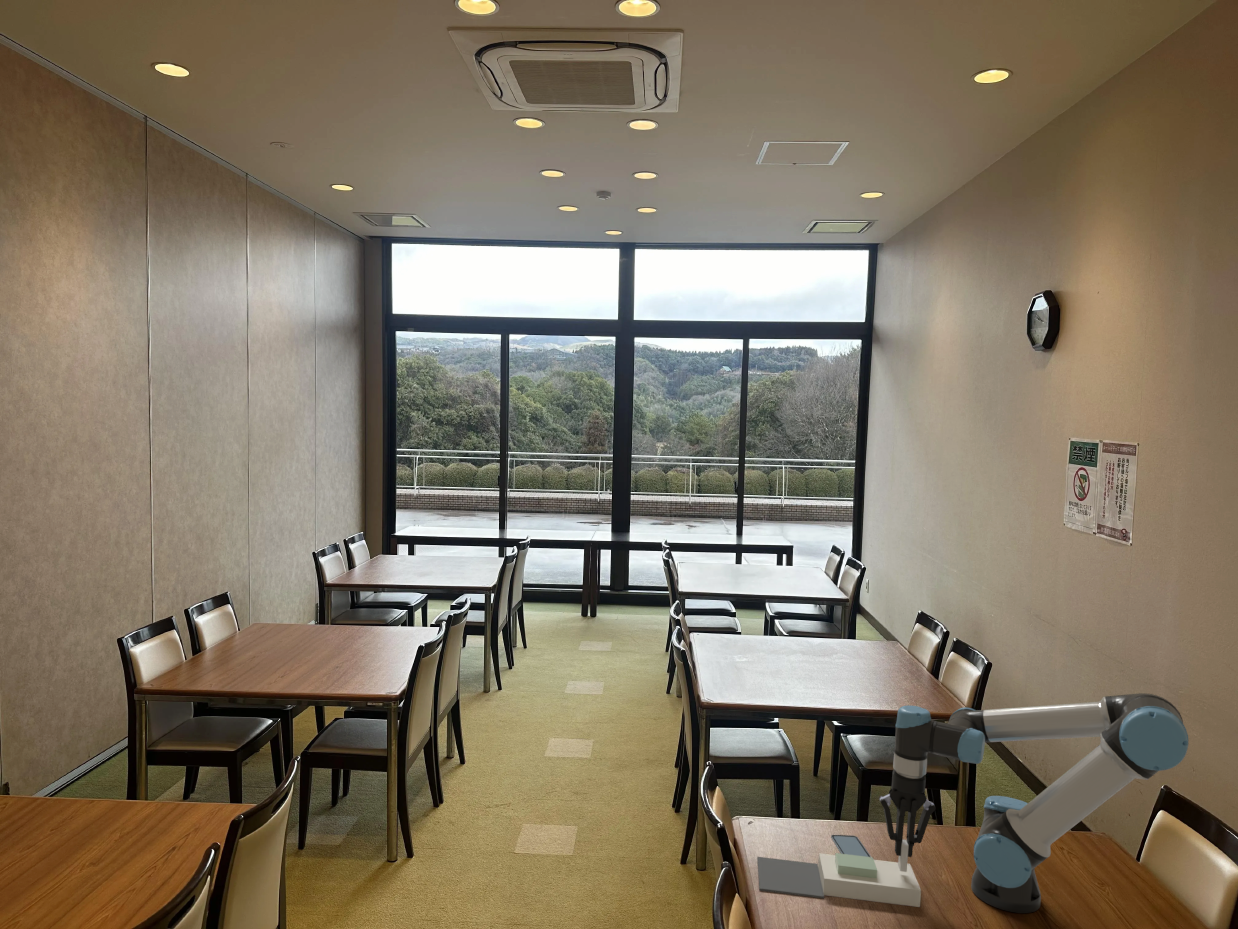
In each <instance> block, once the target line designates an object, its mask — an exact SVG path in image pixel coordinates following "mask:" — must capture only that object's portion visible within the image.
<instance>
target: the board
mask: <svg viewBox="0 0 1238 929" xmlns="http://www.w3.org/2000/svg"><path fill="white" fill-rule="evenodd" d="M874 862H875V865H876V868H877V878H870V877H861V876H853V875H845V874H838V872H837V868H836V864H835V854H829V853H828V854H827V853H821V852H819V853H818V863H817V864H818V868H819V873H820V878H821V883H822V888H823V893H824V896H829V897H835V898H844V899H850V900H851V899H852V900H853V899H854V900H859V901H869V902H876V903H882V904H883V903H884V904H892V905H899V906H900V905H901V906H909V907H917V908H921V898H922V895H921V894H922V890H921V886H920V884H919V882H918V880H917V877H916V874H915V873H914V870H913V867H912V865H911V864H910V863H907V872H903V871H900V869H899V867H898V862H896V861H890V860H889V861H888V860H880V859H874Z"/></svg>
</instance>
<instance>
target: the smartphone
mask: <svg viewBox="0 0 1238 929" xmlns="http://www.w3.org/2000/svg"><path fill="white" fill-rule="evenodd" d="M830 839H831V840H832V842H833V843H834V845H835V847H836V849H837V850H838V851H839V853H840V854H848V855H857V856H865V857H872V856H871V854H870V853H869V852H868V851H867V849H866V847H865V846H864V844H863V843H862V842H861V840H860V839H859V837H858V836H856V835H850V834H849V835H847V834H831V837H830Z"/></svg>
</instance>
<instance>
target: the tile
mask: <svg viewBox="0 0 1238 929" xmlns="http://www.w3.org/2000/svg"><path fill="white" fill-rule="evenodd" d="M834 855H835V864H836V868H837V872H838V874H845V875H853V876H861V877H870V878H877V868H876V865H875V862H874V860H875V859H874V857H872V856H871V857H865V856H857V855H848V854H841V853H840V852H839V853H838V852H835V853H834Z"/></svg>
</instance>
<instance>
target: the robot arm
mask: <svg viewBox="0 0 1238 929" xmlns="http://www.w3.org/2000/svg"><path fill="white" fill-rule="evenodd" d="M896 716H897V717H896V721H895V722H896V723H895V733H894V734H895V736H894V748H893V749H894V750H893V751H894V752H893V754H894V755H893V763H892V767H893V770H892V775H891V776H892V777H891V787H890V789H889V792H888V794H885V795H884V796H883V795H880V796H878V798H879V799H878V800H879V802H880V804H881V807H882V808H883V814H884V819H885V824H886V831H887V834H888V835H887V836H888V837H889V839H890V840H891V841H895V842H894V843H895V844H894V853H895V855H896V856H898V860H897V861H898V867H899V869H900V871H903V872H907V864H908V858H912V857H913V849H914V846H915V844H921V843H922V841H923V840H924V839H923V838H924V835H925V832H926V830H927V827H928V824H929V821H930V818H931V815H932V814H934V812H935V811H936V805H935V804H934V802H933V801H929V799H927V796H926V792H925V791H926V780H927V777H926V774H927V768H928V754H932V755H937V756H941V757H945V758H949V759H953V760H956V761H960V762H963V763H970V764H976V765H978V764H981V763H982V761H983V759H984V753H985V744H986V743H997V742H999V743H1000V742H1001V743H1002V742H1015V741H1016V742H1018V741H1020V742H1021V741H1038V740H1057V739H1077V738H1078V739H1079V738H1093V737H1094V738H1097V737H1098V738H1099V737H1100V739H1099V740H1100V744H1099V745H1098V746H1096V747H1095V748H1094V749H1093V750H1091V751H1090V752H1089V753H1087V755H1085V756H1084V757H1083V758H1082V759H1080V760H1079V761H1078V762H1077V763H1075V764H1074V765H1073V766H1072V767H1071V768H1070V769H1068V770H1067V771H1066V772H1065V773H1064V774H1061V776H1059V777H1058V778H1057V779H1056V780H1054V781H1053V782H1052V783H1051V784H1050V785H1049V786H1047V787H1046V788H1045V789H1044V790H1042V791H1041V792H1040V793H1038V795H1037V796H1035V797H1034V798H1032V800H1030V801H1029V802H1026V801H1023V800H1020V799H1017V798H1014V797H1009V796H1002V795H990V796H988V797H986V799H985V801H984V805H983V809H984V810H983V811H984V812H983V821H982V823H981V827H980V830H979V832H978V836H977V838H976V840H975V842H974V844H973V859H974V862H975V865H976V868H975V869H974V872H973V874H972V877H971V884H970V885H971V886H970V887H971V891H972V893H973V894H974V895H975V896H976V897H977V898H978V899H979V900H981V901H982V902H984V903H986V904H987V905H990V906H991V907H994V908H997V909H999V910H1002V911H1006V912H1010V913H1017V914H1029V913H1033V912H1036V911H1038V910H1039V909H1040V908H1041V902H1042V901H1041V900H1042V896H1041V895H1042V894H1041V890H1040V887H1039V883H1038V879H1037V876H1036V872H1035V868H1036V867H1038V866H1039V865H1040V864H1041V863H1043V862H1044V861H1045V860H1047V859H1048V858H1049V857H1051V846H1052V844H1053V843H1055V842H1056V841H1057V840H1059V839H1060V838H1061V837H1063V835H1065V834H1066V833H1067V832H1069V831H1070V830H1071V829H1072V828H1074V827H1076V825H1077V824H1079V823H1080V822H1081V821H1083V820H1084V819H1086V817H1088V816H1089V815H1090V814H1092V813H1093V812H1094V811H1095V810H1096V809H1098V808H1100V806H1102V805H1103V804H1104V803H1105V802H1106V801H1108V800H1109V799H1110V798H1112V797H1113V796H1115V795H1116V794H1117V793H1118V792H1120V790H1122V789H1123V788H1125V787H1126V786H1127V785H1129V784H1130V783H1131V782H1133V781H1134V780H1135V779H1138V780H1149V779H1150V778H1152V777H1153V776H1154V775H1156V774H1158V772H1160V771H1167V770H1171V769H1173V768H1175V767H1177V766H1178V765H1179V764H1181V762H1183V760H1184V759H1185V757H1186V755H1187V752H1188V749H1189V735H1188V731H1187V728H1186V726H1185V724H1184V721H1183V717H1182V715H1181V713H1180V711H1179V710H1178V709H1177V707H1176V706H1175V705H1174V704H1173V703H1172V702H1171V701H1169V700H1168V699H1166V698H1165V697H1162V696H1160V695H1157V694H1153V693H1143V692H1141V693H1128V694H1119V695H1118V694H1117V695H1106V696H1103V697H1102V698H1101V700H1098V701H1091V702H1090V701H1088V702H1087V701H1086V702H1075V703H1061V704H1060V703H1059V704H1048V705H1047V704H1046V705H1034V706H1021V707H1020V706H1019V707H1008V708H993V709H992V708H991V709H982V710H981V709H979V710H978V709H977V710H976V709H974V708H971V707H968V706H967V707H964V706H963V707H961V708H959V709H957V710H955V711H954V712H952V714H951V715H950V717H949V719H948V722H947V723H945V722H942V721H941V722H940V721H937V720H933V719H932V717H931V712H930V711H929V709H926V708H925V707H924V708H923V707H921V706H917V705H903V706H901V707H900V708H898V710H897V715H896ZM891 802H893V804H894V805H895V807H896V821H895V823H896V824H895V831H894V824H893V820H892V813H891V809H890V806H891V804H892V803H891ZM922 807H923V809H922V812H921V814H920V816H919V817H920V818H919V820H918V824H917V826H916V819H917V812H918V811H919V810H920V808H922ZM906 812H907V824H906V836H905V838H906V839H904V837H903V836H904V826H905V815H906ZM915 827H916V829H915Z"/></svg>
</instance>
